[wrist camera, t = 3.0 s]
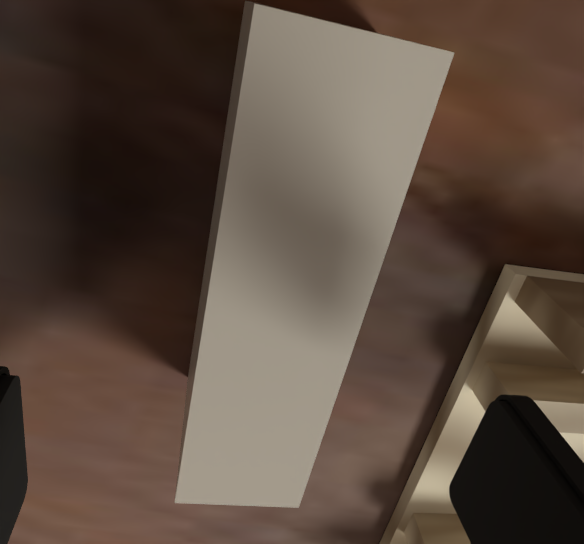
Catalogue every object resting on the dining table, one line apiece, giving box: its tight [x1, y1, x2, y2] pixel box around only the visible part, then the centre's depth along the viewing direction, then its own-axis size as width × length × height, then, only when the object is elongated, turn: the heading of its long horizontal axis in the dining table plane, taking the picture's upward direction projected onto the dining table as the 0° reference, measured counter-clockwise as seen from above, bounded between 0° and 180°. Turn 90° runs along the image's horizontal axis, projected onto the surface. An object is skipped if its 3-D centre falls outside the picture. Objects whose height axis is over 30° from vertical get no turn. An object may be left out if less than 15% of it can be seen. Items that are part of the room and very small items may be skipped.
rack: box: [379, 264, 584, 544], centre depth 23 cm, size 20×9×5 cm, turn 169°
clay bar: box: [175, 0, 454, 508], centre depth 15 cm, size 14×4×6 cm, turn 168°
